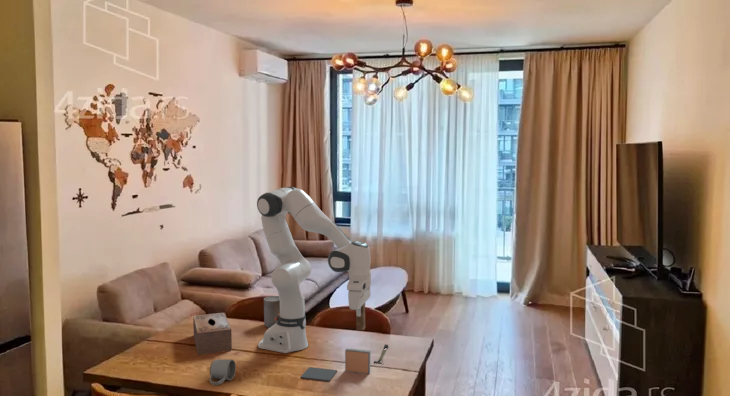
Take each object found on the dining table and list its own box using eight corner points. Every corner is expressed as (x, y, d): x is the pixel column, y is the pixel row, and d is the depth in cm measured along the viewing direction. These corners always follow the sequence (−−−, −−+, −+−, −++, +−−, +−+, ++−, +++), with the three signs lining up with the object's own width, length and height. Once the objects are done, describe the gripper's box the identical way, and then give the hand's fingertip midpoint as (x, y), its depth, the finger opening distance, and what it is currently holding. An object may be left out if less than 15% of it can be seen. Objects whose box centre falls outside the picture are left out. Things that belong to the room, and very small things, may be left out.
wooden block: (356, 329, 233) (355, 296, 231) (358, 327, 235) (357, 294, 234) (363, 330, 232) (363, 296, 230) (365, 328, 235) (364, 294, 233)
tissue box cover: (231, 351, 251) (231, 329, 250) (197, 355, 246) (197, 332, 245) (224, 332, 275) (224, 312, 274) (193, 336, 270) (193, 315, 269)
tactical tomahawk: (388, 367, 237) (389, 364, 236) (373, 364, 238) (373, 362, 238) (398, 348, 257) (398, 346, 257) (383, 346, 258) (383, 343, 258)
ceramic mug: (217, 373, 227) (216, 355, 226) (236, 375, 225) (235, 356, 224) (204, 385, 216) (203, 365, 215) (224, 387, 215) (223, 367, 214)
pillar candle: (286, 322, 290) (285, 293, 289) (279, 328, 281) (278, 298, 279) (268, 321, 292) (268, 292, 291) (260, 327, 283) (260, 297, 281)
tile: (345, 371, 230) (345, 350, 229) (346, 369, 231) (346, 348, 230) (369, 374, 227) (369, 352, 226) (370, 372, 229) (370, 350, 228)
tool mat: (300, 378, 223) (300, 376, 223) (309, 368, 232) (309, 366, 232) (329, 381, 220) (329, 380, 220) (337, 371, 229) (337, 370, 229)
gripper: (359, 275, 243) (359, 306, 244) (345, 287, 223) (346, 321, 224) (373, 275, 241) (374, 307, 242) (361, 287, 221) (361, 322, 223)
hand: (360, 314), depth 233 cm, fingers closed on wooden block, 3 cm apart
